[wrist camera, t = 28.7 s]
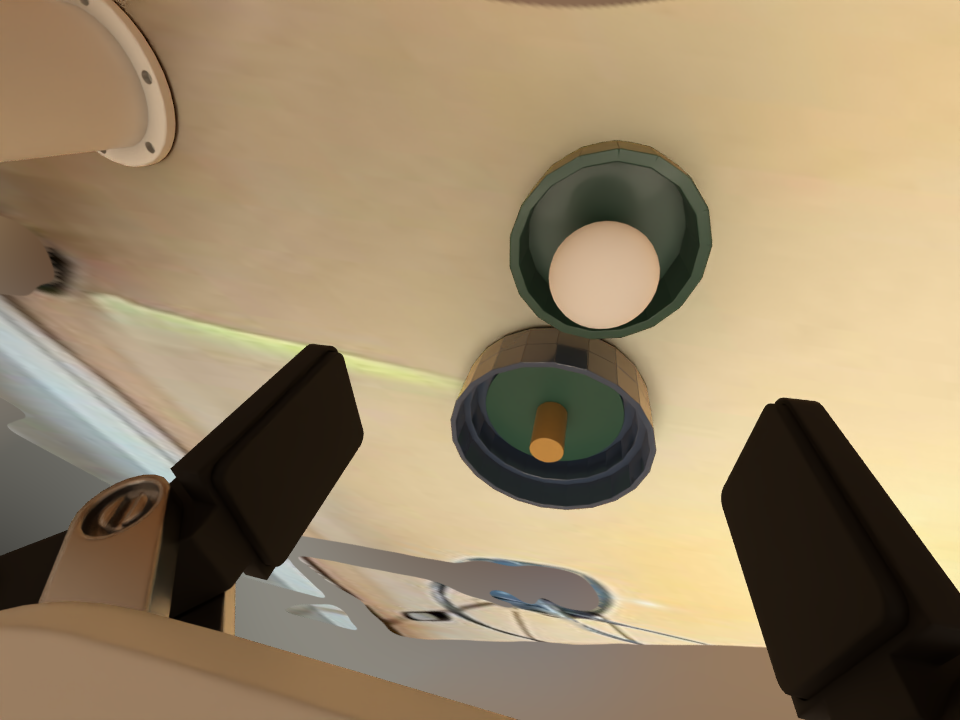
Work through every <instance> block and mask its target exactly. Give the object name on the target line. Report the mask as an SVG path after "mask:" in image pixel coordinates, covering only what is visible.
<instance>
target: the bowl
mask: <svg viewBox="0 0 960 720" xmlns="http://www.w3.org/2000/svg"><path fill="white" fill-rule="evenodd" d="M522 367H554V368H559V369H563V370H567V371H572V372H576V373H580V374H584V375H587V376H589V377H591V378H593V379H595V380H597V381H599V382H601V383H603V384H605V385H607V386H609V387H611V388H613V389H614V390H615V391H616V392H617V393H619V394H620V395H621V397H622V399H623V404H624V423H623V426H622V429H621V431H620V433H619V435H618V436H617V438H616V439H615V440H614V441H613V442H612V443H611V444H610V445H609V446H608V447H607V448H605V449H604V450H602V451H601V452H599V453H597V454H595V455H592V456H590V457H587V458H583V459H578V460H572V461H555V462H543V461H540V460H538V459H536V458H535V457H534V456H531V455H529V454H526V453H524V452H522V451H520V450H518V449H516V448H515V447H513V446H512V445H510V444H509V443H508V442H506V441H505V440H504V439H503V438H502V437H501V436H500V435H499V434H498V433H497V431H496V430H495V429H494V427H493V425H492V424H491V422H490V420H489V417H488V414H487V410H486V395H487V391H488V388H489V386H490V383H491V381H492V380H493V378H494V377H495V375H496V374H499V373H502V372H506V371H510V370H514V369H518V368H522ZM451 429H452V439H453V442H454V444H455V446H456V448H457V450H458V453H459V455H460V457H461V458H462V460H463V461H464V462H465V464H466V465H467V466H468V467H469V468H470V469H471V471H472V472H473V473H474V474H475V475H476V476H477V477H478V478H480V479H481V480H482V481H484V482H485V483H486V484H488V485H489V486H490V487H492V488H493V489H495V490H497V491H499V492H501V493H503V494H505V495H507V496H509V497H511V498H513V499H515V500H518V501H521V502H525V503H528V504H532V505H535V506H539V507H544V508H554V509H564V510H566V509H567V510H570V509H583V508H593V507H596V506H600V505H603V504H606V503H610V502H613V501H616V500H618V499H619V498H621V497H623V496H624V495H626V494H628V493H629V492H631V491H633V490H634V489H636V488H637V486H638V485H639V484H640V483H641V482H642V480H643V479H644V478H645V477H646V476H647V475H648V473H649V472H650V469H651V466H652V463H653V460H654V457H655V454H656V445H655V436H654V428H653V422H652V416H651V410H650V404H649V398H648V391H647V386H646V385H645V383H644V381H643V379H642V377H641V375H640V374H639V372H638V370H637V368H636V366H635V365H634V364H633V363H632V362H631V361H630V360H629V359H627V358H626V357H625V356H624V355H623V354H622V353H621V352H620V351H619V350H618V349H617V348H615V347H614V346H612V345H610V344H608V343H606V342H604V341H602V340H600V339H588V338H584V337H580V336H576V335H572V334H568V333H564V332H561V331H560V330H558V329H556V328H536V329H528V330H525V331H521V332H518V333H515V334H511V335H508V336H505V337H503V338H502V339H500V340H499V341H497V342H496V343H494V344H493V345H491V346H489V347H488V348H486V349H485V350H484V351H483V353H482V354H481V355H480V357H479V358H478V359H477V361H476V362H475V363H474V364H473V366H472V368H471V370H470V372H469V374H468V376H467V379H466V381H465V383H464V385H463V387H462V389H461V391H460V394H459V396H458V398H457V400H456V403H455V406H454V410H453V413H452V417H451Z"/></svg>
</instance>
